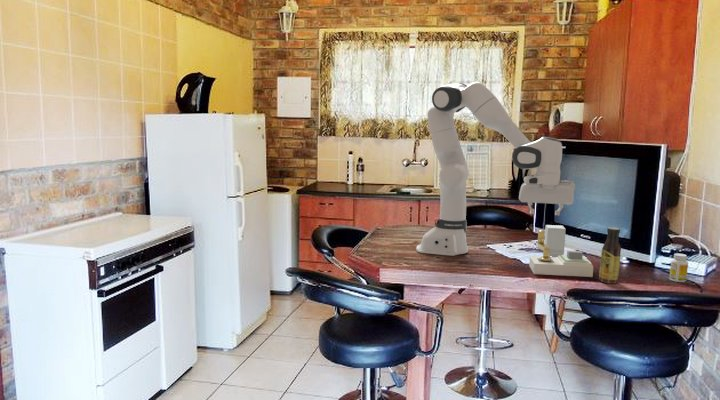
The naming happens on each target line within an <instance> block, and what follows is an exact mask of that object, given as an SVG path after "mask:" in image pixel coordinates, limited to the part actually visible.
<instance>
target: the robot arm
mask: <svg viewBox="0 0 720 400" xmlns="http://www.w3.org/2000/svg"><path fill="white" fill-rule="evenodd" d="M431 102H432V105H433V106H432V107H431V108H430V109H428V111H427V123H428V124H427V125H428V130H429V135H430V137H431V138H430V139H431V141H432V146H433V149H434V152H435V155H436V157H437V160H438V162H439V165H440V168H441V170H440V171H439V199H440V200H439V202H440V205H439V217H434V220H433V222H434V227H432V228H431V229H429V230H428V231H427V232H425V233H424V234H423V236H422V239H421V242H420V243H419V244H418V245H416V248H415V250H416V252H418V253H420V254H431V255H439V256H453V257H454V256H458V255H463V254H466V253H468V252H469V249H468V244H467V237H466V236H467V234H466V232H467V226H468V225H467V224H468V222H467V221H468V220H467V219H466V218H467V217H466V216H467V181H468V178H469V173H470V171H469V167H468V164H467V162H466V158H465V155H464V152H463V149H462V146H461V144H460V138H459V136H458V130H457V128H456V124H455V119H454V115H455V113H459V112H460V111H462V110H463V109H465V108H467V109H468V110H469V111H470V112H471V113H472V115H473V116H474V117H475V119H476V120H477V121H478V122H479V123H481V124H482V125H483V127H486V128H488V129H490V130H493V131H495V132H498V133H500V134H501V135H503V137H504V138H506V140H507V141H508V142H509V143H510V144H511V145H512V147H514V151H513V152H512V155H511V158H512V163H513V164H514V165H515V166H516V167H517V168H519V169H521V170H530V169H536V173H535V174H531V175H528V176H524V177H523V182H522V184H521V186H520V189H519V192H518V194H519V195H518V200H519V201H520V202H521V203H527V205H528V208H529V214H530V215H535V211H536V209H535V208H532V206H533V203H534V204H535V203H536V204H552V205H554V204H555V205H558V208H557V210H555V211H554V215H555V216H560V214H561V211H562V209H564V205H569V206H570V205H573V204H574V201H575V193H574V192H575V190H576V183H575V182H573V181H572V180H565V179H561V164H562V159H563V144H562V141H561V140H559V139H558V138H555V137H551V136H550V137H549V136H541V137H540V138H539V139H537V140H535V141H532V140H531V139H529V138H528V137H527V136H526V135H525V133H524V132H523V131H522V130H521V129H520V128H519V126H517V124H516V123H515V122H514V121H513V119H512V118H511V116H510V115H509V114H508V112H507V110H506V109H505V107H504V106H503V105H502V103H501V102H500V100H499V99H498V98H497V96H496V95H494V94H493V92H492V91H491V90H489V88H488V87H487V86H485V85H484V84H483V83H481V82H480V81H479V82H478V81H475V82H474V81H473V82H471V83H470V84H468V85H467V84H465V83H462V82H458V83H455V82H454V83H449V84H445V85H441V86H438V87H437V88H436V89H435V90H434V91H433V93H432V96H431Z"/></svg>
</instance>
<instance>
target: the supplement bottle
mask: <svg viewBox="0 0 720 400" xmlns="http://www.w3.org/2000/svg"><path fill="white" fill-rule="evenodd" d="M687 259H688V256H687V254H684V253H674V254H673V259H672V260H671V261H670V269H669V276H668V277H669V281H673V282H676V283H685V282H687V277H688V270H689V269H688V268H689V262H688V261H687Z"/></svg>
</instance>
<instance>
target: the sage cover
mask: <svg viewBox="0 0 720 400" xmlns="http://www.w3.org/2000/svg"><path fill="white" fill-rule="evenodd" d="M583 255H584V252H583V251H581V250H567V251H566V254H564V255H561V258H562V259H563V260H564V261H565V262H580V263H588V260H589V259H588V258H587V259H588V260H587V259H585V258H584V257H585V256H583Z"/></svg>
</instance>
